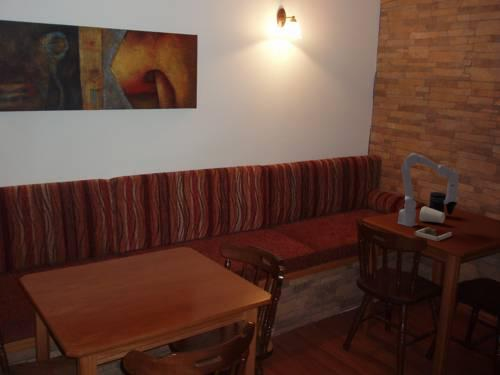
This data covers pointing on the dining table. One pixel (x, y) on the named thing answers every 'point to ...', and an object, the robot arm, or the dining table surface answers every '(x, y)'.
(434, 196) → the green-striped black cylinder
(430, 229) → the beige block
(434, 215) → the foam cup
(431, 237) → the bay
